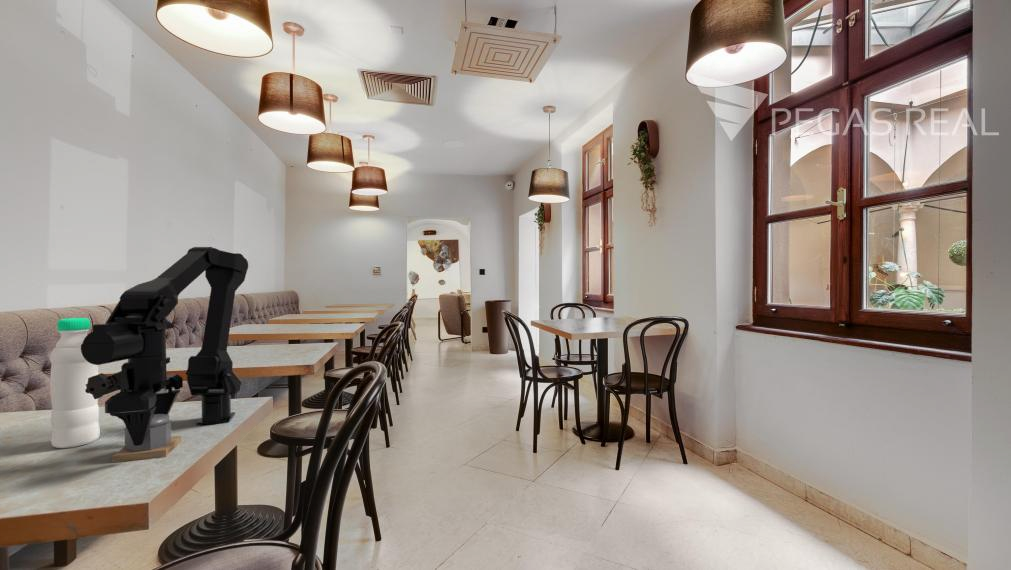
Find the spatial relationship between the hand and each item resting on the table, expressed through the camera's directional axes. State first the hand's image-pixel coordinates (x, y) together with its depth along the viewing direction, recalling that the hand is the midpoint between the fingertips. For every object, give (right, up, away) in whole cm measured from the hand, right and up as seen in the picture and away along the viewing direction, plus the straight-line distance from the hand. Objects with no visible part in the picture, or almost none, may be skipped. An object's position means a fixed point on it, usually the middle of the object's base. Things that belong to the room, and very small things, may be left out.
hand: (148, 436), depth 86 cm
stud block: (0, -3, 0) cm, 3 cm away
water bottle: (-18, -3, +5) cm, 19 cm away
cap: (0, -2, 0) cm, 2 cm away
